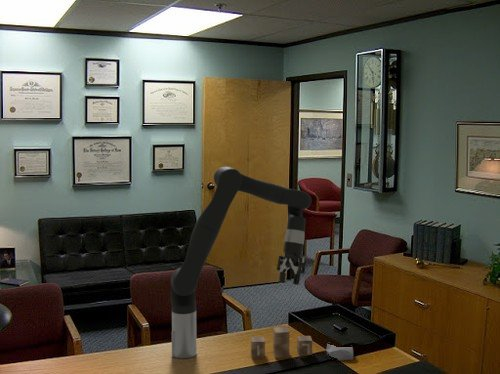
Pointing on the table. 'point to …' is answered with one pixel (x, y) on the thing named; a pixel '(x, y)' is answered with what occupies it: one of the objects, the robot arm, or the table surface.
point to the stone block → (340, 352)
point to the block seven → (304, 345)
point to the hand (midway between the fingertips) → (288, 283)
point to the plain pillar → (281, 342)
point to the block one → (257, 347)
